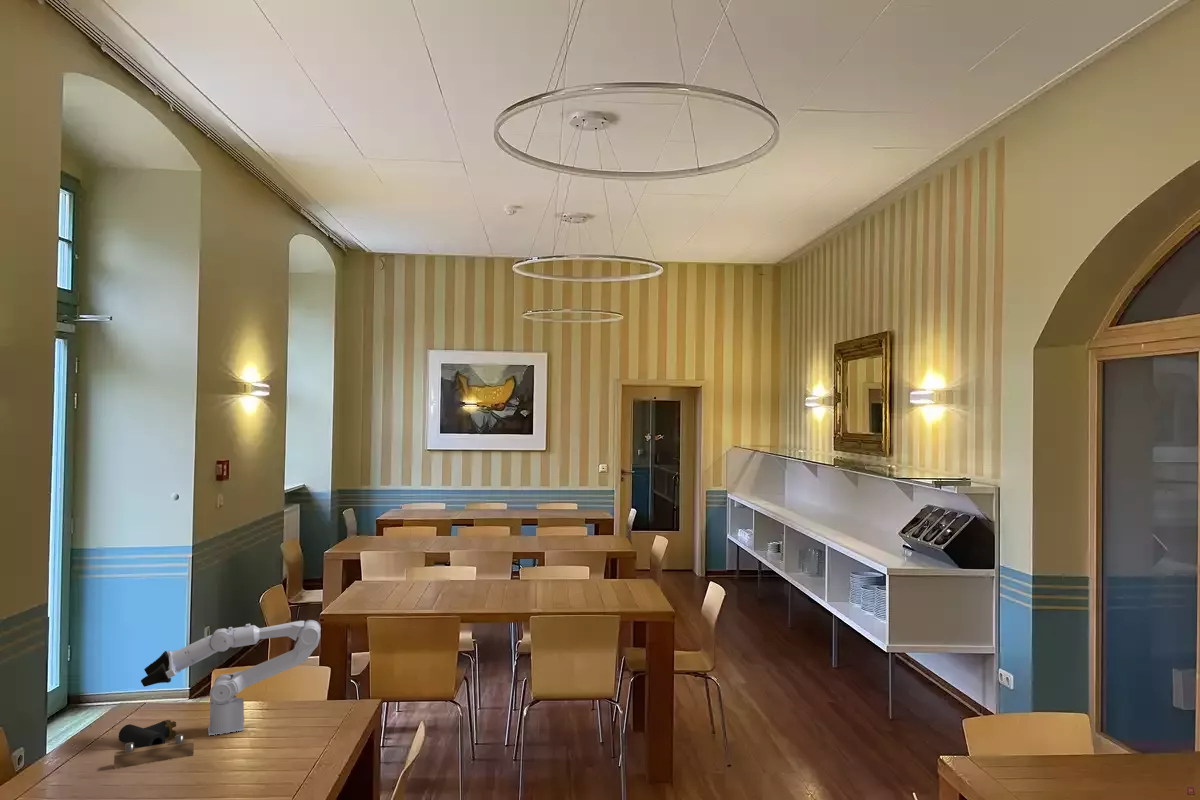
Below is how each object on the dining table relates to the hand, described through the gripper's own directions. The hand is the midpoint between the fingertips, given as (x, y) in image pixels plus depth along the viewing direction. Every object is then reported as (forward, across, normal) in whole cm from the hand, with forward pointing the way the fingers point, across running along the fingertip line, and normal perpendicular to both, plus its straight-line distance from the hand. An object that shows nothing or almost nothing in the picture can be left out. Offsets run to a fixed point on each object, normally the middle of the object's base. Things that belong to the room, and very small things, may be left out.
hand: (144, 677), depth 240 cm
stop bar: (+2, +22, +15) cm, 26 cm away
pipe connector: (+5, +7, +17) cm, 19 cm away
